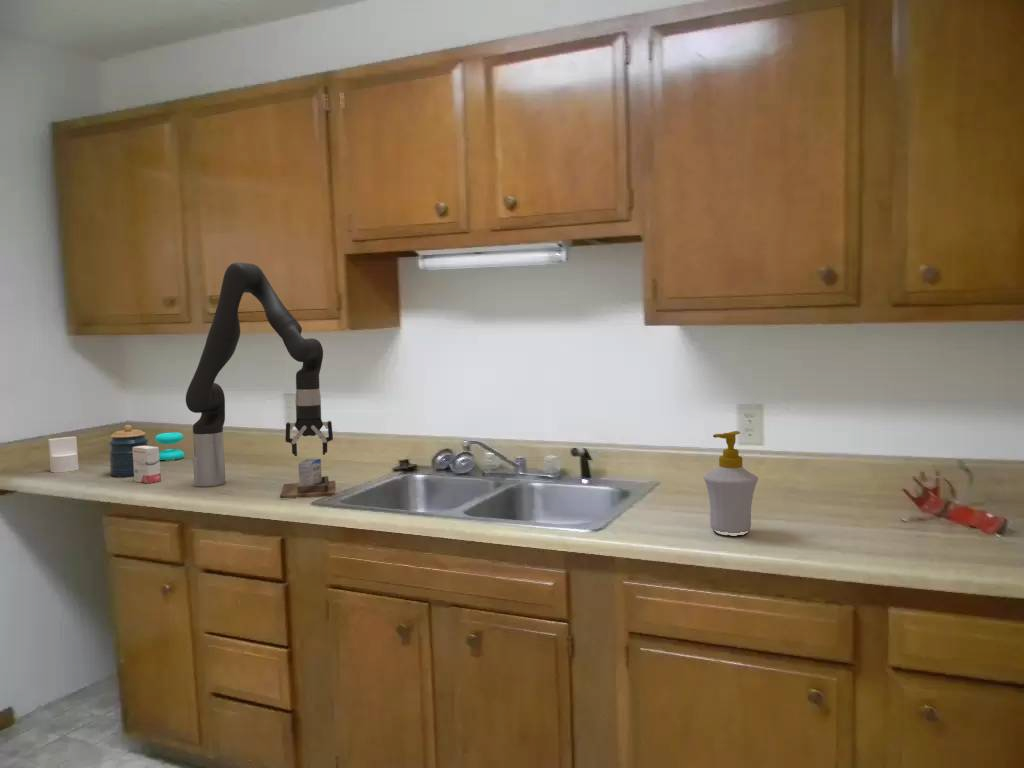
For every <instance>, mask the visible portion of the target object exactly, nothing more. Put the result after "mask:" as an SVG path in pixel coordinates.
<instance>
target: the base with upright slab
mask: <svg viewBox="0 0 1024 768" xmlns="http://www.w3.org/2000/svg"><path fill="white" fill-rule="evenodd" d="M77 442H78V440H77V436H66V437H65V436H64V437H56V438H48V451H49V463H50V466H49V467H50V473H51V472H66V473H68V472H67V471H73V472H75V471H74V470H77V471H79V470H78V469H79V457H78V455H79V453H78V443H77Z"/></svg>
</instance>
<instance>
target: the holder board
mask: <svg viewBox="0 0 1024 768" xmlns="http://www.w3.org/2000/svg"><path fill="white" fill-rule="evenodd" d="M335 493H336V481H335V480H329V476H328V475H326V476H322V485H310V486H300V484H299V482H294V483H292V482H291V483H283V485H282V488H281V492H280V494H279V499H280V498H292V499H297V498H296V497H307V498H319V497H320V498H322V497H333V496H332V495H335V496H336V494H335Z"/></svg>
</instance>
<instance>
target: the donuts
mask: <svg viewBox="0 0 1024 768" xmlns="http://www.w3.org/2000/svg"><path fill="white" fill-rule="evenodd" d="M183 438H184V435H183V433H181V432H177V431H176V432H162V433H158V434H157V435H155V441H156V442H157V443H158V444H162V445H172V444H177V443H180V442H181V441H183ZM184 456H185V453H184V451H183V450H181V449H177V448H169V449H164V450H159V460H173V459H179V458H181V459H183V458H184ZM182 457H183V458H182ZM179 460H180V459H179ZM173 461H174V460H173Z"/></svg>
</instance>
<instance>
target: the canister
mask: <svg viewBox="0 0 1024 768" xmlns="http://www.w3.org/2000/svg"><path fill="white" fill-rule="evenodd" d="M146 434H147V432H145V431H142V429H133V427H132V425H131V424H125V425H124V427H123V430H117V431H115V432H114V433H113V434H111V435H110V437H111V440H109V441H108V444H109V446H110V448H109V451H108V453H109V463H110V465H109V466H110V469H109V471H110V475H111V476H112V477H115V478H128V477H129V478H130V477H131V478H132V477H134V466H133V451H132V448H133V447H137V446H149V445H148V443H149V441H150V439H149V438H147V437H146V436H145V435H146Z"/></svg>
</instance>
